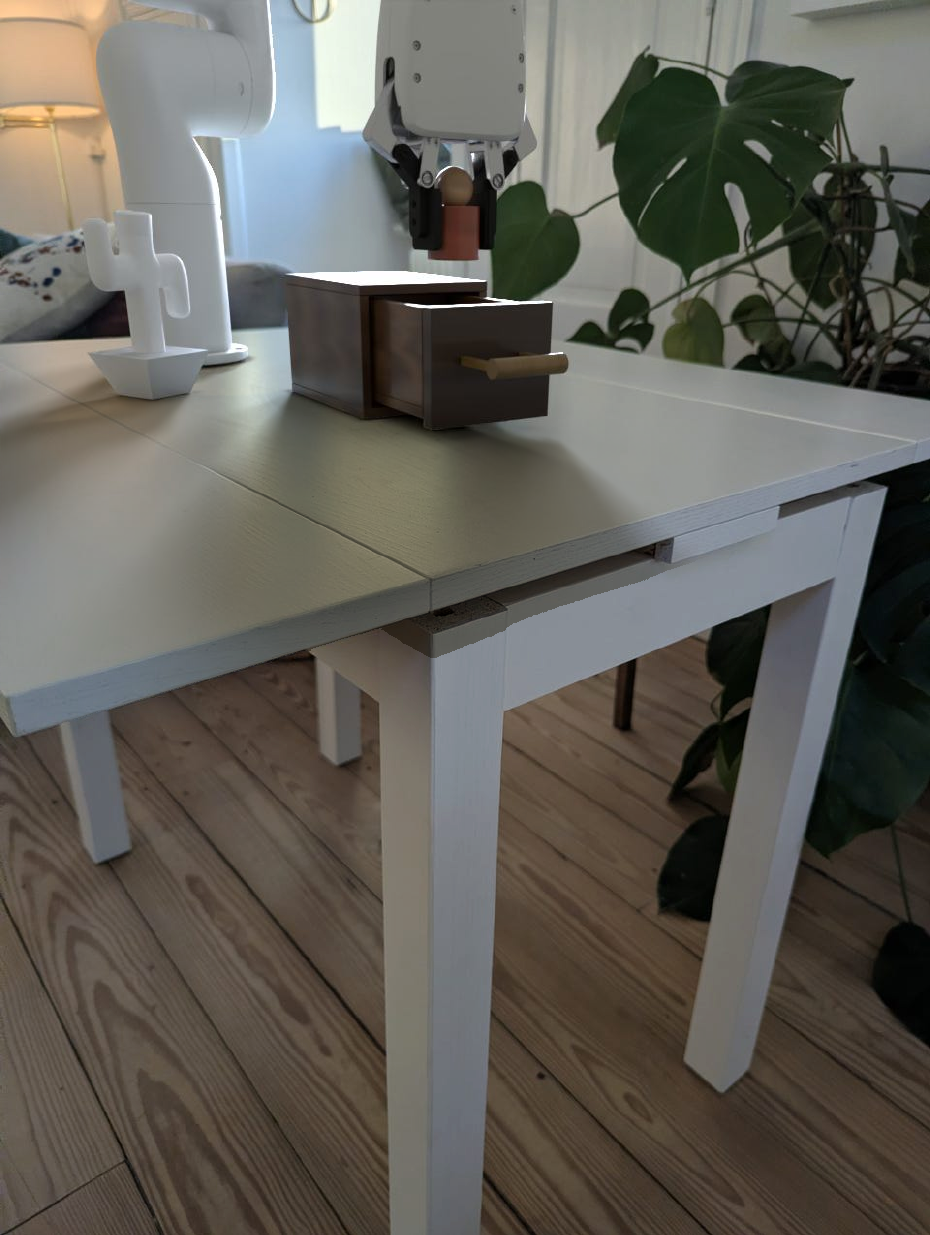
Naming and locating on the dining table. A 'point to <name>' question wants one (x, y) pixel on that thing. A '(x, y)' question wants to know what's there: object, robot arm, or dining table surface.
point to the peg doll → (457, 217)
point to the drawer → (462, 357)
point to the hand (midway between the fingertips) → (453, 246)
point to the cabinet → (348, 332)
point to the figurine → (141, 308)
